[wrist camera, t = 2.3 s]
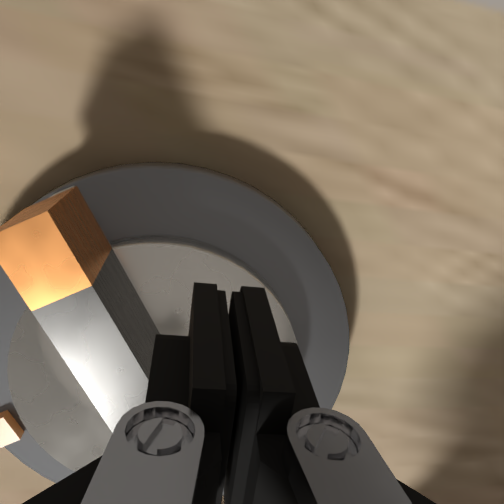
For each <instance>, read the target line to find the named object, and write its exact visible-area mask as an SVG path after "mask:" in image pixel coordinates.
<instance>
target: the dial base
mask: <svg viewBox="0 0 504 504" xmlns="http://www.w3.org/2000/svg"><path fill="white" fill-rule="evenodd" d="M75 186H77V187H78V188H79V190H80V192H81V194H82V196H83V197H84V199H85V201H86V203H87V204H88V206H89V208H90V210H91V212H92V213H93V215H94V217H95V219H96V221H97V222H98V224H99V226H100V228H101V229H102V231H103V233H104V235H105V237H106V238H107V240H108V242H111V241H114V240H119V239H123V238H128V237H133V236H145V235H171V236H178V237H184V238H191V239H194V240H198V241H201V242H205V243H208V244H211V245H213V246H216V247H218V248H220V249H223V250H225V251H227V252H229V253H231V254H233V255H234V256H236V257H238V258H239V259H241V260H243V261H244V262H245V263H247V264H248V265H249V266H250V267H252V268H253V269H254V270H256V271H257V272H258V273H259V274H260V275H261V276H262V277H263V278H264V279H265V280H266V281H267V282H268V283H269V285H270V286H271V287H272V289H273V290H274V291H275V293H276V294H277V296H278V297H279V299H280V300H281V302H282V304H283V306H284V308H285V310H286V312H287V315H288V317H289V320H290V323H291V326H292V329H293V331H294V334H295V337H296V340H297V344H298V347H299V350H300V353H301V355H302V358H303V361H304V364H305V367H306V370H307V372H308V375H309V378H310V381H311V384H312V386H313V389H314V392H315V395H316V398H317V400H318V403H319V406H320V408H327V409H332V407H333V405H334V403H335V401H336V398H337V396H338V394H339V392H340V389H341V386H342V382H343V379H344V376H345V373H346V367H347V360H348V354H349V325H348V318H347V311H346V306H345V303H344V300H343V296H342V293H341V289H340V286H339V284H338V282H337V280H336V278H335V276H334V274H333V271H332V269H331V267H330V265H329V264H328V262H327V261H326V259H325V258H324V256H323V255H322V253H321V252H320V250H319V249H318V247H317V246H316V244H315V243H314V241H313V240H312V238H311V237H310V235H309V234H308V233H307V231H306V230H305V229H304V228H303V227H302V226H301V225H300V223H299V222H298V221H297V220H296V219H295V218H294V217H293V216H292V215H291V214H290V213H289V212H288V211H286V210H285V209H284V208H283V207H282V206H281V205H279V204H278V203H277V202H276V201H275V200H273V199H272V198H270V197H268V196H267V195H265V194H264V193H262V192H261V191H259V190H258V189H256V188H254V187H253V186H250V185H248V184H246V183H244V182H242V181H240V180H238V179H236V178H233V177H231V176H228V175H225V174H222V173H219V172H216V171H213V170H210V169H207V168H202V167H196V166H191V165H185V164H180V163H161V162H147V163H134V164H124V165H119V166H115V167H110V168H105V169H101V170H97V171H94V172H92V173H89V174H86V175H83V176H80V177H78V178H75V179H73V180H71V181H69V182H67V183H65V184H63V185H61V186H59V187H57V188H55V189H54V190H52V191H50V192H49V193H47V194H46V195H44V196H43V197H42V198H40V199H39V200H38V201H36V202H35V203H33V204H32V205H34V204H36V203H38V202H41V201H43V200H45V199H47V198H50V197H52V196H54V195H57V194H59V193H61V192H63V191H66V190H68V189H70V188H73V187H75ZM26 307H27V304H26V303H25V301H24V300H23V298H22V297H21V295H20V294H19V292H18V291H17V289H16V288H15V286H14V285H13V283H12V282H11V280H10V279H9V277H8V276H7V274H6V273H5V271H4V270H3V268H2V267H1V265H0V448H1V447H5V448H6V449H7V450H9V451H10V452H11V453H12V454H13V455H14V456H16V457H17V458H18V459H19V460H20V461H21V462H22V463H24V464H25V465H27V466H28V467H30V468H31V469H33V470H34V471H36V472H37V473H39V474H40V475H42V476H43V477H45V478H47V479H49V480H51V481H53V482H55V483H57V482H59V481H61V480H62V479H64V478H66V477H67V476H69V475H71V474H72V473H74V471H72V470H70V469H69V468H67V467H65V466H64V465H63V464H61V463H60V462H58V461H57V460H55V459H54V458H53V457H52V456H50V455H49V454H48V453H47V452H46V451H45V450H44V449H43V448H42V447H41V446H40V445H39V444H38V443H37V442H36V441H35V439H34V438H33V437H32V436H31V435H30V434H29V432H28V430H27V429H26V427H25V426H24V424H23V423H22V421H21V419H20V417H19V415H18V413H17V411H16V409H15V406H14V404H13V400H12V397H11V393H10V390H9V383H8V374H7V367H8V353H9V348H10V343H11V339H12V336H13V333H14V331H15V328H16V326H17V323H18V321H19V319H20V318H21V316H22V314H23V312H24V311H25V309H26ZM223 495H224V488H223V494H222V496H223Z"/></svg>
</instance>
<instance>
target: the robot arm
mask: <svg viewBox="0 0 504 504" xmlns="http://www.w3.org/2000/svg"><path fill="white" fill-rule="evenodd" d="M223 488H224V504H436V503H434V502H433V501H431V500H429V499H428V498H426V497H425V496H423V495H421V494H420V493H418V492H417V491H415V490H413V489H412V488H410V487H408V486H407V485H405V484H404V483H402V482H400V481H399V480H397V479H396V478H395V476H394V475H393V473H392V472H391V470H390V469H389V467H388V466H387V464H386V463H385V461H384V460H383V458H382V457H381V455H380V453H379V452H378V450H377V449H376V447H375V446H374V444H373V443H372V441H371V440H370V438H369V437H368V435H367V434H366V432H365V431H364V430H363V429H362V427H361V426H360V425H359V424H358V423H357V422H355V421H354V420H353V419H351V418H350V417H348V416H346V415H344V414H342V413H340V412H338V411H335V410H331V409H327V408H320V406H319V403H318V400H317V398H316V395H315V392H314V389H313V386H312V384H311V381H310V378H309V375H308V372H307V370H306V367H305V364H304V361H303V358H302V355H301V353H300V350H299V347H298V345H297V343H293V342H281V341H280V338H279V335H278V331H277V328H276V324H275V321H274V318H273V314H272V311H271V308H270V304H269V301H268V298H267V294H266V291H265V288H261V287H249V286H241V288H240V292H236V291H232V293H231V299H230V307H229V314H228V307H227V299H226V291H223V290H217V284H210V283H198V282H194V285H193V294H192V303H191V313H190V323H189V333H188V336H179V335H163V334H156V336H155V342H154V349H153V355H152V362H151V368H150V375H149V381H148V387H147V394H146V400H145V403H143V404H141V405H138V406H136V407H133V408H132V409H130V410H129V411H127V412H126V413H125V414H123V416H122V417H121V418H120V420H119V421H118V423H117V424H116V427H115V429H114V431H113V433H112V435H111V438H110V440H109V442H108V444H107V446H106V449H105V451H104V453H103V455H102V456H101V457H99V458H97V459H96V460H94V461H92V462H91V463H89V464H87V465H86V466H84V467H82V468H81V469H79V470H77V471H76V472H74V473H72V474H71V475H69V476H67V477H66V478H64V479H62V480H61V481H59V482H57V483H56V484H54V485H52V486H51V487H49V488H47V489H46V490H44V491H42V492H41V493H39V494H37V495H36V496H34V497H32V498H31V499H29V500H27V501H26V502H24V503H22V504H221V501H222V494H223Z"/></svg>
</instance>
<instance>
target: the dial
mask: <svg viewBox="0 0 504 504" xmlns="http://www.w3.org/2000/svg"><path fill="white" fill-rule="evenodd" d="M0 265H1V267H2V268H3V270H4V271H5V273H6V274H7V276H8V277H9V279H10V280H11V282H12V283H13V285H14V286H15V288H16V289H17V291H18V292H19V294H20V295H21V297H22V298H23V300H24V301H25V303H26V304H27V307H26V309H25V311H24V312H23V314H22V316H21V318H20V319H19V321H18V323H17V326H16V328H15V331H14V333H13V336H12V339H11V343H10V348H9V353H8V367H7V374H8V383H9V390H10V393H11V397H12V400H13V404H14V406H15V409H16V411H17V413H18V415H19V417H20V419H21V421H22V423H23V424H24V426H25V427H26V429H27V430H28V432H29V434H30V435H31V436H32V437H33V438H34V439H35V441H36V442H37V443H38V444H39V445H40V446H41V447H42V448H43V449H44V450H45V451H46V452H47V453H48V454H49V455H50V456H52V457H53V458H54V459H55V460H57V461H58V462H60V463H61V464H63V465H64V466H65V467H67V468H69V469H70V470H72V471H74V472H76V471H77V470H79V469H81V468H82V467H84V466H86V465H87V464H89V463H91V462H92V461H94V460H96V459H97V458H99V457H101V456H102V455H103V453H104V451H105V449H106V446H107V444H108V442H109V440H110V438H111V435H112V433H113V431H114V429H115V427H116V424H117V423H118V421H119V420H120V418H121V417H122V416H123V414H125V413H126V412H127V411H129V410H130V409H132V408H133V407H136V406H138V405H141V404H143V403H145V400H146V394H147V387H148V381H149V375H150V368H151V362H152V355H153V349H154V342H155V336H156V334H163V335H179V336H188V333H189V323H190V313H191V303H192V294H193V285H194V282H198V283H210V284H217V290H223V291H226V299H227V307H228V314H229V307H230V299H231V293H232V291H236V292H240V288H241V286H249V287H261V288H265V291H266V294H267V298H268V301H269V304H270V308H271V311H272V314H273V318H274V321H275V324H276V328H277V331H278V335H279V338H280V341H281V342H293V343H297V340H296V337H295V334H294V331H293V329H292V326H291V323H290V320H289V317H288V315H287V312H286V310H285V308H284V306H283V304H282V302H281V300H280V299H279V297H278V296H277V294H276V293H275V291H274V290H273V289H272V287H271V286H270V285H269V283H268V282H267V281H266V280H265V279H264V278H263V277H262V276H261V275H260V274H259V273H258V272H257V271H256V270H254V269H253V268H252V267H250V266H249V265H248V264H247V263H245V262H244V261H243V260H241V259H239V258H238V257H236V256H234V255H233V254H231V253H229V252H227V251H225V250H223V249H220V248H218V247H216V246H213V245H211V244H208V243H205V242H201V241H198V240H194V239H191V238H184V237H178V236H171V235H145V236H133V237H128V238H123V239H119V240H114V241H111V242H108V240H107V238H106V237H105V235H104V233H103V231H102V229H101V228H100V226H99V224H98V222H97V221H96V219H95V217H94V215H93V213H92V212H91V210H90V208H89V206H88V204H87V203H86V201H85V199H84V197H83V196H82V194H81V192H80V190H79V188H78V187H77V186H75V187H73V188H70V189H68V190H66V191H63V192H61V193H59V194H57V195H54V196H52V197H50V198H47V199H45V200H43V201H41V202H38V203H36V204H34V205H31V206H29V207H27V208H25V209H23V210H22V211H21V212H19V213H18V214H16V215H15V216H14V217H12V218H11V219H10V220H8V221H7V222H6V223H4V224H3V225H2V226H0ZM297 345H298V344H297Z"/></svg>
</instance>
